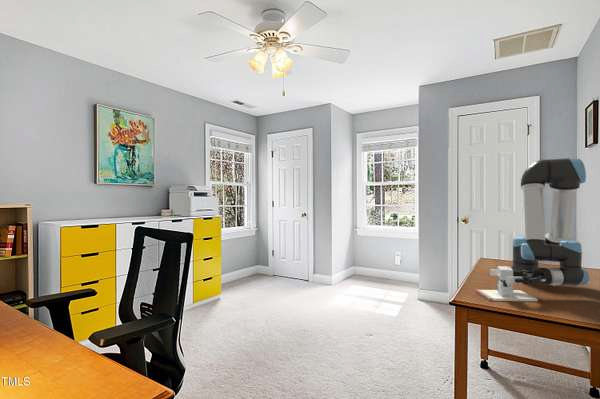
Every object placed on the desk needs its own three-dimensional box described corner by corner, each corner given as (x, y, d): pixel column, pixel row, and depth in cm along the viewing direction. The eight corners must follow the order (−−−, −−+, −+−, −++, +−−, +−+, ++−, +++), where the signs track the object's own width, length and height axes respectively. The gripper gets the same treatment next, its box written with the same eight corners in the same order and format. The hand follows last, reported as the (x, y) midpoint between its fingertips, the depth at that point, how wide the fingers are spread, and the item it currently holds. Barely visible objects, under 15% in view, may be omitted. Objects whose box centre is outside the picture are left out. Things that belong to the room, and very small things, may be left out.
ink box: (497, 290, 157) (497, 265, 156) (509, 292, 155) (509, 266, 154) (500, 296, 149) (500, 269, 148) (513, 297, 147) (513, 270, 147)
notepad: (519, 292, 157) (520, 289, 157) (537, 301, 144) (537, 298, 144) (475, 291, 159) (475, 289, 159) (489, 300, 146) (489, 298, 146)
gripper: (567, 293, 138) (513, 292, 139) (530, 277, 163) (484, 277, 164) (567, 274, 138) (513, 274, 139) (530, 262, 163) (484, 262, 164)
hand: (497, 276), depth 152 cm, fingers open, 13 cm apart
